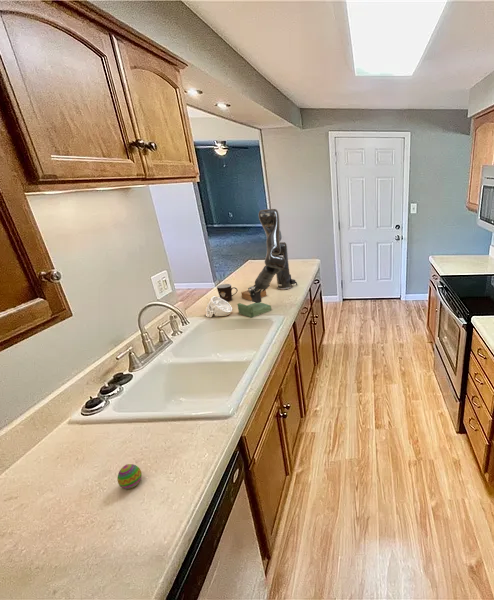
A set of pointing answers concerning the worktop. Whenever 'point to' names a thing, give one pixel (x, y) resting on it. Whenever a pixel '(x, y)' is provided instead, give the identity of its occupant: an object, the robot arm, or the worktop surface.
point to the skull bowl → (218, 307)
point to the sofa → (253, 309)
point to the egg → (129, 476)
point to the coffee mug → (225, 291)
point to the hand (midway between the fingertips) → (253, 295)
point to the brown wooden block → (247, 295)
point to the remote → (256, 297)
